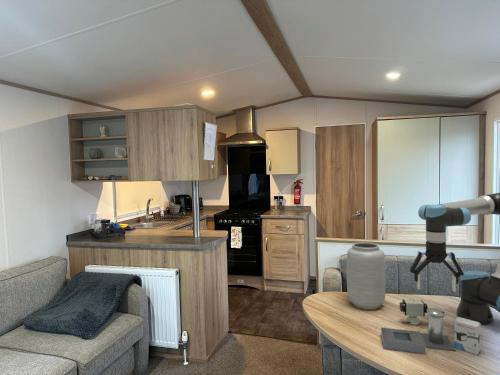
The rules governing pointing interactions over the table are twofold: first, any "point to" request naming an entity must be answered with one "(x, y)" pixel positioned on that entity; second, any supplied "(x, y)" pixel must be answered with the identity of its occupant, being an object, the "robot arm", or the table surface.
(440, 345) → the mat
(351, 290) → the vase
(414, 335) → the frame
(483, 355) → the table surface
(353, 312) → the table surface
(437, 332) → the grey bottle
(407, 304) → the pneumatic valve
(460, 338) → the ink box
